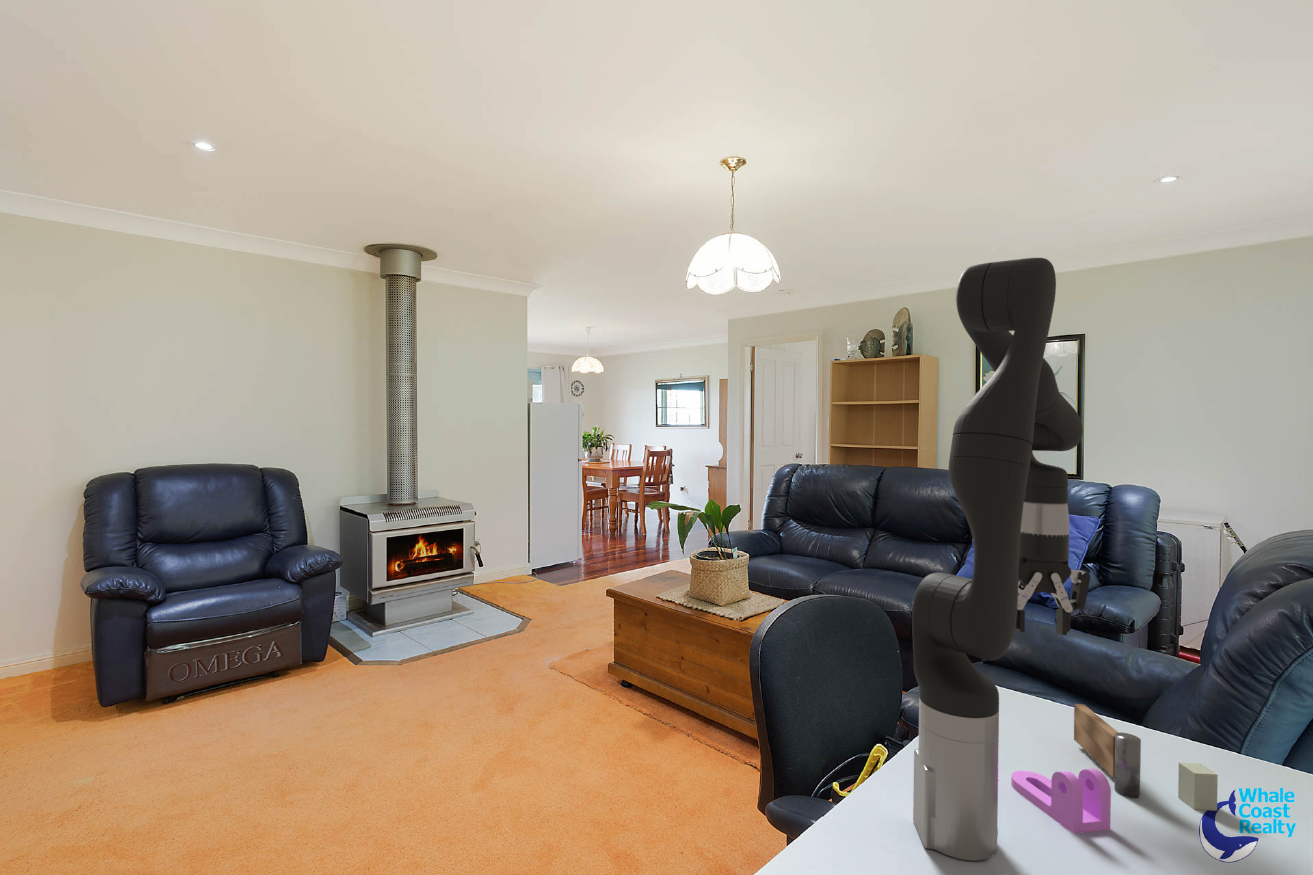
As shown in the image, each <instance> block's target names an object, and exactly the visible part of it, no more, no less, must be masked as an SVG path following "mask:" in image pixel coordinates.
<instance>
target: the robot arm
mask: <svg viewBox="0 0 1313 875" xmlns="http://www.w3.org/2000/svg"><path fill="white" fill-rule="evenodd" d="M1056 289H1057V277H1056V271H1055V268H1054V265H1053V263H1052V262H1051V261H1050V260H1049V259H1048V258H1045V257H1027V258H1020V259H1009V260H1000V261H993V262H992V261H991V262H985V263H980V264H975V265H971V266H969V267H967V268H966V269H964V271H963V272H962V273H961V275H960V277H959V279H958V283H957V287H956V292H955V293H956V294H955V303H956V304H955V305H956V310H957V314H958V317H959V319H960V322H961V324H962V326H963V328H964V330H965V331H966V333H967V335H968V336H969V337H970V339H971V340H972V343H974V345H975V346H976V347H977V349H978V350H979V352H980V353H981V356H982V357H984V359H985V360H986V363H988V364H989V365H990V367H991V369H992V371H993V372H994V373H993V374H992V376H991V377H990V378H989V379H988V380H987V381H986V382H985V383H984V385H983V386H982V387H981V388H980V389H979V390H978V391H977V392H976V394H975V395H974V396H973V397H972V398H971V400H969V402H968V403H967V404H966V406H964V408H963V410H962V411H961V412H960V413H959V415H958V417H957V419H956V420H955V424H954V426H953V432H952V438H951V445H950V452H949V460H948V476H949V477H948V478H949V480H950V481H949V482H950V484H951V487H952V489H953V493H954V494H955V496H956V499H957V501H958V504H959V505H960V507H961V510H962V512H963V514H964V516H965V518H966V521H967V524H968V526H969V528H970V532H971V536H972V542H973V543H972V544H973V572H972V578H969V577H965V576H960V575H957V574H950V573H945V572H934V573H930V574H928V575H926V576H925V577H923V579H922V580H920V583H918V586H917V587H916V589H915V590H916V591H915V593H914V596H913V602H912V606H911V607H912V610H911V629H912V632H911V633H912V635H911V636H912V651H913V672H914V676H915V680H916V682H917V685H918V696H919V697H918V699H919V700H918V749H914V751H913V793H912V794H913V798H912V800H913V801H912V802H913V807H912V811H913V812H912V813H913V814H912V820H913V823H914V826H915V828H916V831H917V833H918V836H919V838H920V840H921V843H922V845H923V847H924V848H925V849H928V850H929V849H932V850H935V851H938V852H940V853H942V854H944V855H945V856H948V857H951V858H955V859H959V860H962V861H963V860H964V861H984V860H988V859H990V858H992V857H994V855H996V853H997V851H998V837H999V834H998V833H999V832H998V831H999V830H998V815H999V813H998V812H999V810H998V809H999V808H998V806H999V798H998V797H999V746H1000V745H999V736H1000V729H999V728H1000V693H999V689H998V687H997V685H996V684H995V683H994V682H993V681H992V680H991V679H990V678H989V677H987V675H985V674H984V673H983V672H982V671H980V670H979V669H978V668H977V667H976V666H975V665H974V664H973V662H972V661H971V660H970V659H969V657H968V656H971V657H974V658H977V659H981V660H984V661H994V660H999V659H1000V658H1001V657H1003V656H1004V655H1005V654H1006V652H1007V651H1008V650H1009V648H1010V645H1011V643H1012V641H1013V639H1014V636H1015V631H1016V632H1018V633H1022V634H1023V633H1025V629H1026V628H1025V626H1026V623H1025V622H1026V621H1025V620H1026V619H1025V617H1026V613H1025V612H1026V611H1025V609H1024V608H1025V606H1026V604H1027V603H1028V601H1029V600H1030V598H1032V596H1033V594H1034V593H1043V592H1044V593H1048V594H1051V596H1052V597H1053V598H1054V601H1055V603H1056V605H1057V608H1058V609H1056V616H1055V618H1056V621H1055V624H1056V625H1055V629H1056V632H1057V633H1058V634H1059V635H1061V636H1067V634H1068V632H1069V633H1070V630H1071V629H1072V628H1071V623H1072V622H1071V621H1072V619H1071V618H1072V616H1071V615H1072V612H1073V611H1076V610H1083V609H1084V608H1085V607H1086V602H1087V596H1088V593H1089V592H1088V591H1089V586H1090V582H1091V575H1090V573H1089V572H1087V571H1084V570H1081V569H1077V570H1075V569H1072V568H1071V567H1070V566H1069V559H1070V514H1069V507H1068V506H1069V505H1068V504H1069V502H1068V499H1069V498H1068V497H1069V496H1068V493H1069V487H1068V486H1069V477H1068V472H1067V470H1066V469H1064V468H1062V467H1059V466H1055V465H1052V464H1046V463H1042V462H1040V461H1039V460H1038V459H1036V457H1035V455H1034V452H1033V451H1035V452H1038V451H1039V452H1041V451H1042V452H1066V451H1067V452H1068V451H1070V450H1072V449H1074V448H1076V447H1077V446H1078V445H1079V443H1080V442H1081V440H1082V438H1083V432H1084V428H1083V423H1082V420H1081V418H1080V416H1079V413H1078V412H1077V410H1076V409H1075V408H1074V407H1073V406H1072V405H1071V404H1070V403H1069V402H1068V401H1067V399H1066V398H1065V397H1064V396H1063V395H1062V394H1061V392H1060V389H1059V386H1058V384H1057V380H1056V377H1055V375H1056V374H1055V373H1054V370H1053V368H1052V367H1051V365H1050V364H1049V363H1048V361H1047V360H1046V359H1045V358H1044V356H1045V351H1046V346H1047V341H1048V337H1049V332H1050V328H1051V322H1052V317H1053V312H1054V306H1055V301H1056V291H1057V290H1056ZM1013 331H1014V332H1013ZM1011 332H1013V334H1012V333H1011ZM1069 578H1070V582H1072V587H1071V594H1070V597H1069V595H1068V593H1067V591H1066V589H1065V588H1066V587H1064V585H1065V583H1066V582H1067V580H1068V579H1069Z"/></svg>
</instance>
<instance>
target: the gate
mask: <svg viewBox="0 0 1313 875" xmlns="http://www.w3.org/2000/svg"><path fill="white" fill-rule="evenodd" d="M1073 707H1074V709H1073V716H1074V717H1073V722H1074V723H1073V741H1075V742H1076V743H1077V744H1078V745H1079V746H1080V747H1081V749H1083V750H1084V751H1085V752H1086V753H1087V754H1088V755H1089V756H1090V757H1091V758H1092V759H1094V760H1095V761H1096V762H1097V763H1098V764H1099V765H1100V766H1101V767H1102V768H1103V769H1104V770H1106V772H1108V773H1109V775H1111V776H1112V777H1114V778H1115V734H1116V733H1120V732H1119V731H1118V730H1116V729H1115V728H1114V727H1112V726H1111V725H1110V724H1109V723H1107V721H1105V720H1104V719H1103V718H1101V717H1100V716H1099V715H1098V714H1097V713H1095V712H1094V711H1093V710H1092V709H1090V708H1089V707H1088V706H1087V705H1085V704H1084V703H1083V704H1082V703H1081V704H1080V703H1074V704H1073Z"/></svg>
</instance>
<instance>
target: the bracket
mask: <svg viewBox="0 0 1313 875" xmlns="http://www.w3.org/2000/svg"><path fill="white" fill-rule="evenodd" d="M1010 775H1011V778H1010V779H1011V782H1010V785H1011V787H1012V789H1013V790H1014V791H1016V792H1017V793H1018V794H1020V795H1021V796H1022V797H1023V798H1025V799H1027V800H1028V801H1030V802H1031V803H1032V804H1033V805H1034V806H1036V807H1037V808H1039V809H1040V810H1041V811H1042V812H1044V813H1045V814H1046V815H1048V816H1049V817H1050V818H1052V819H1053V820H1054V821H1056V822H1057V823H1058V824H1060V825H1061V826H1062V827H1064V828H1065V829H1066V830H1068V831H1069V832H1070V833H1071V834H1081V833H1092V832H1099V831H1109V830H1111V814H1112V813H1111V808H1112V807H1111V806H1112V804H1111V802H1112V800H1111V799H1112V789H1111V785H1110V784H1111V783H1110V782H1109V780H1108V778H1107V776H1105V774H1104V773H1103V772H1102V771H1101V770H1099V769H1097V768H1086V769H1082V770H1080V771H1079V774H1078V776H1076V775H1075V774H1074V773H1073V772H1071V771H1069V770H1064V771H1063V770H1061V771H1055V772H1054V773H1053V774H1052V776H1051V778H1049V777H1047V776H1045V775H1044V774H1043V775H1042V774H1041V773H1037V772H1034V771H1030V770H1029V771H1028V770H1017V771H1016V770H1015V771H1014V772H1012V773H1011V774H1010Z"/></svg>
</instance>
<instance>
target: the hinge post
mask: <svg viewBox="0 0 1313 875" xmlns="http://www.w3.org/2000/svg"><path fill="white" fill-rule="evenodd" d="M1141 743H1142V739H1141V738H1140V737H1139V736H1136V735H1134V734H1131V733H1128V732H1119V733H1116V734H1115V777H1114V791H1115V792H1116V793H1117V794H1118V795H1121V796H1123V797H1127V798H1130V799H1138V798H1140V797H1141V766H1142V765H1141V760H1142V759H1141V758H1142V757H1141V752H1142V744H1141Z"/></svg>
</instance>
